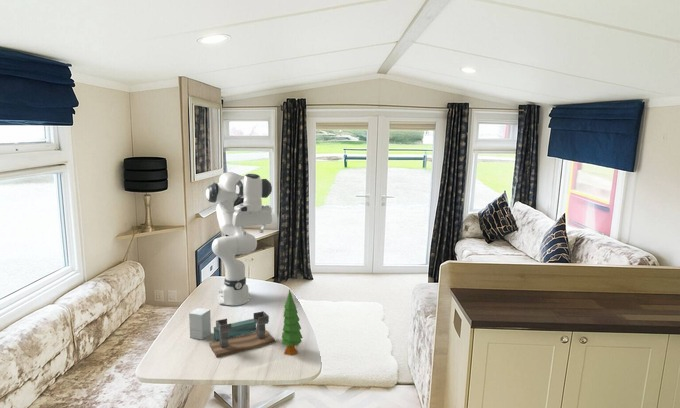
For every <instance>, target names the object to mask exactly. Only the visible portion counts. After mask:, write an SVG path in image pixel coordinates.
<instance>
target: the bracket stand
mask: <svg viewBox="0 0 680 408" xmlns="http://www.w3.org/2000/svg"><path fill="white" fill-rule="evenodd" d="M253 319H254V321H255V322H256V331H255V332H254V333H253V332H251V333H247V334H243V335H240V336H236V337H233V338H229V339H228V332H231V323H232V322H231V323H228V318H222V319H217V320H215V327H216V328H217V329H218V331H219V332H220V341H217V342H216V341H212V342H209V343H208V344H209V345H208V346H209V348H210V350H211V351H212V352H213V354H214V356H215V357H216V358H220V357H225V356H228V355H232V354H237V353H240V352H244V351H250V350H252V349H257V348H261V347H264V346H268V345H271V344H274V343H276V338H274V337H273V335H272V334H271V333H269V332H268V331H267V330H266V325H267V324H269V322H270V320H269V319H270V316H269V314H268V313H266V312H265V311H264V310H263V311H258V312H254V313H253Z"/></svg>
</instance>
